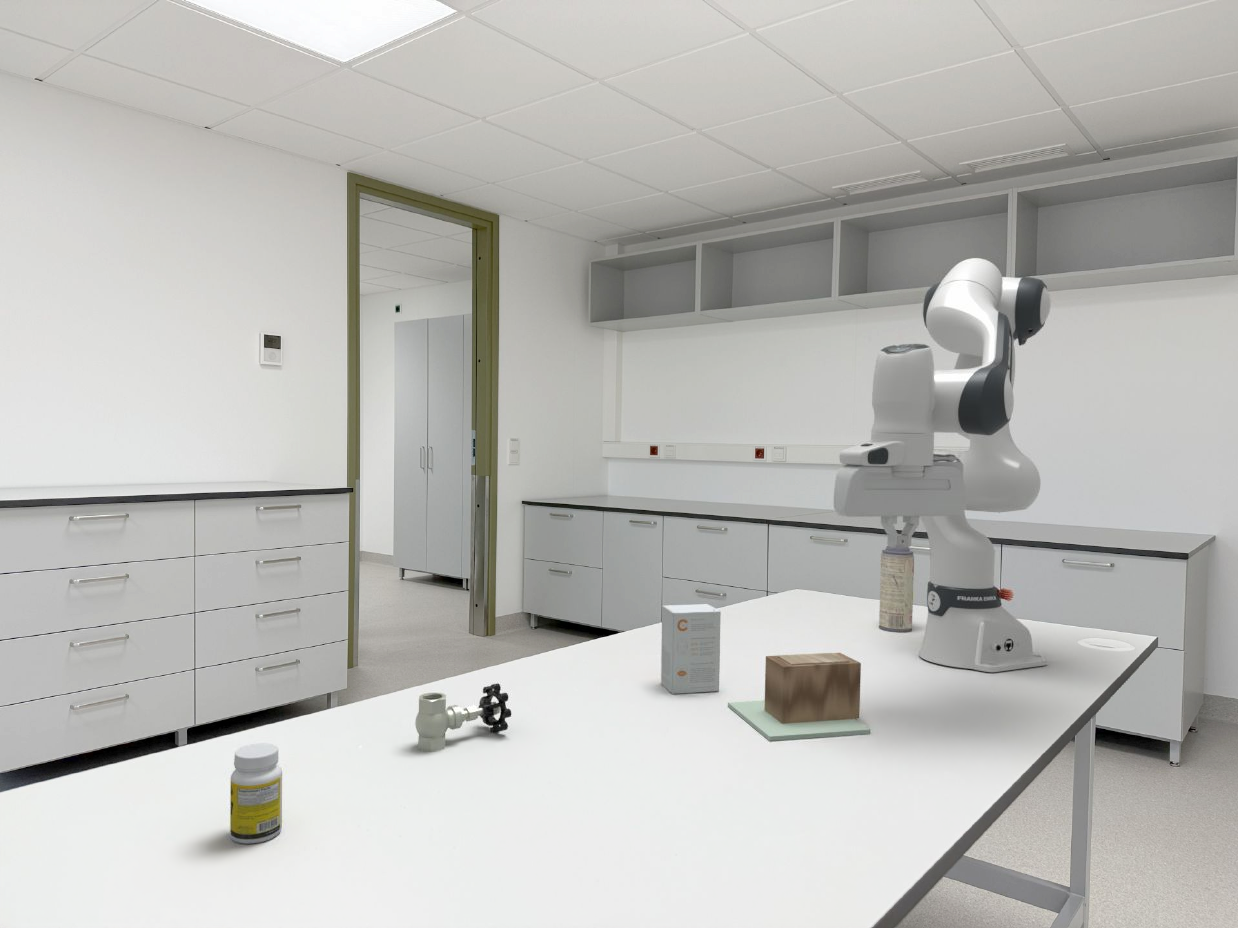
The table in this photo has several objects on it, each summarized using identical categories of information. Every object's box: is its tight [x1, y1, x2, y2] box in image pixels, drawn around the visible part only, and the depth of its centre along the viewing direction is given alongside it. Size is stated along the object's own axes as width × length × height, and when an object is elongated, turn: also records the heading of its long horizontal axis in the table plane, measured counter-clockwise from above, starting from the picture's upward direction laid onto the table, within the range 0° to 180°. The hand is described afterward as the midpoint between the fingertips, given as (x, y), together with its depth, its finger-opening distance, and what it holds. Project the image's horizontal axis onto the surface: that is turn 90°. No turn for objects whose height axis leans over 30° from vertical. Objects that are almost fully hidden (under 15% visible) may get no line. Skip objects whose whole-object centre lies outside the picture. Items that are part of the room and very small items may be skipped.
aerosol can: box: [878, 545, 915, 633], centre depth 185 cm, size 7×7×20 cm
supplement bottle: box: [229, 742, 283, 845], centre depth 84 cm, size 5×5×8 cm
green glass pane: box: [727, 699, 871, 742], centre depth 122 cm, size 15×15×1 cm
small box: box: [660, 603, 721, 695], centre depth 137 cm, size 8×6×13 cm
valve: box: [414, 683, 512, 753], centre depth 111 cm, size 7×7×12 cm
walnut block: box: [764, 652, 862, 724], centre depth 123 cm, size 8×6×12 cm
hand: (899, 546), depth 126 cm, fingers closed
